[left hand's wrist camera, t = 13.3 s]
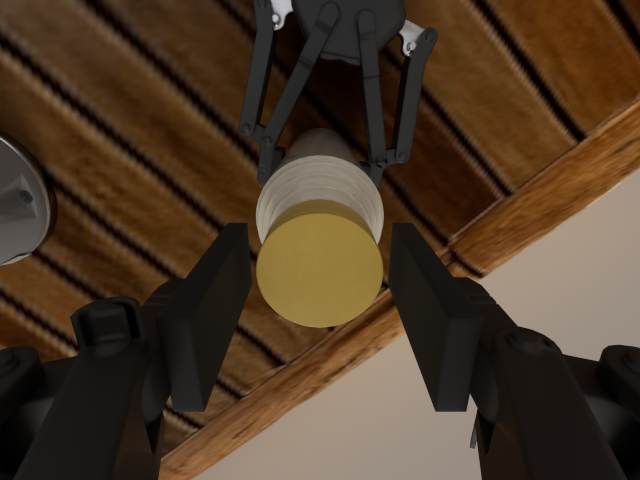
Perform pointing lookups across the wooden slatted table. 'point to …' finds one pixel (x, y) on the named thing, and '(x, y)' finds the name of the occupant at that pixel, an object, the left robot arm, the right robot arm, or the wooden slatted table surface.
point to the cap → (319, 264)
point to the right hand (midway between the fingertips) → (310, 227)
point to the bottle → (319, 181)
